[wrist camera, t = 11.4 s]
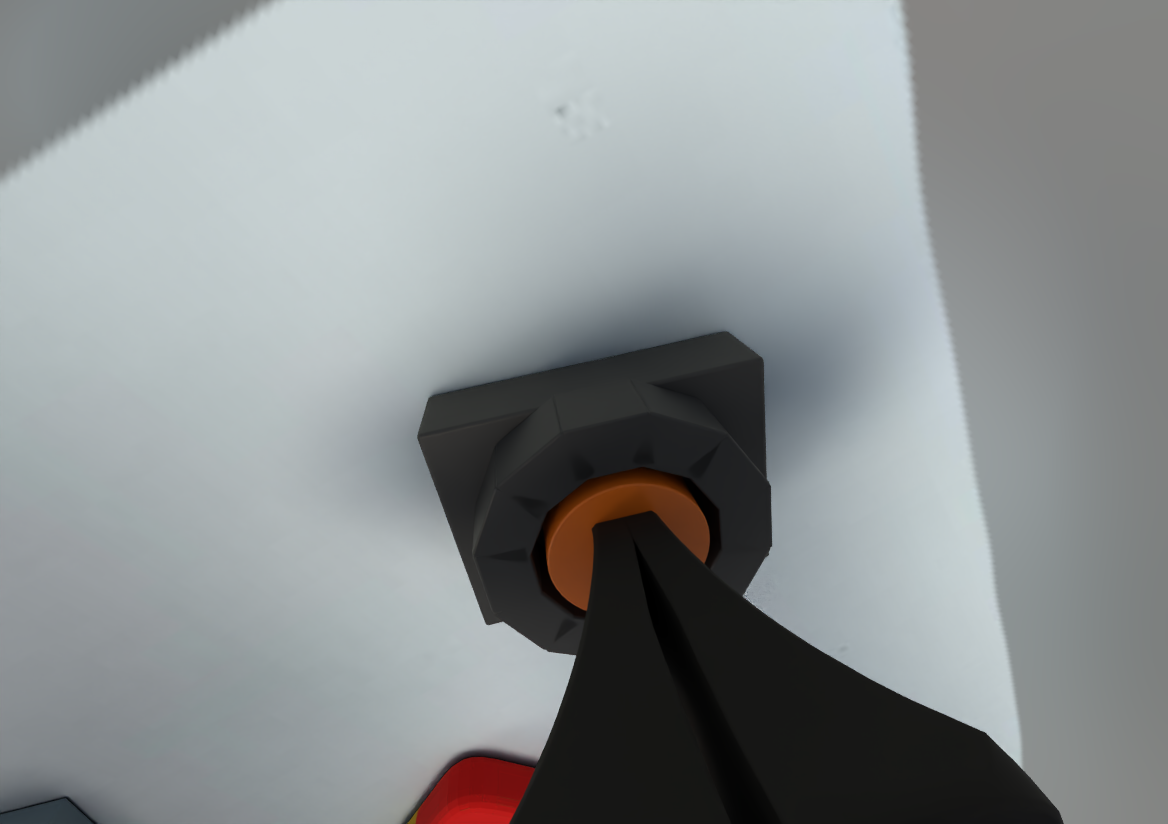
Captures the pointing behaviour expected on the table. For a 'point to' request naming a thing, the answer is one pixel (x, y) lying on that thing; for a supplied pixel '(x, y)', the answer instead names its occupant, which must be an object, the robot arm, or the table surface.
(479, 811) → the popsicle
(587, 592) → the button
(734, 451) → the control block
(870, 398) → the table surface
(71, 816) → the drawer cabinet
